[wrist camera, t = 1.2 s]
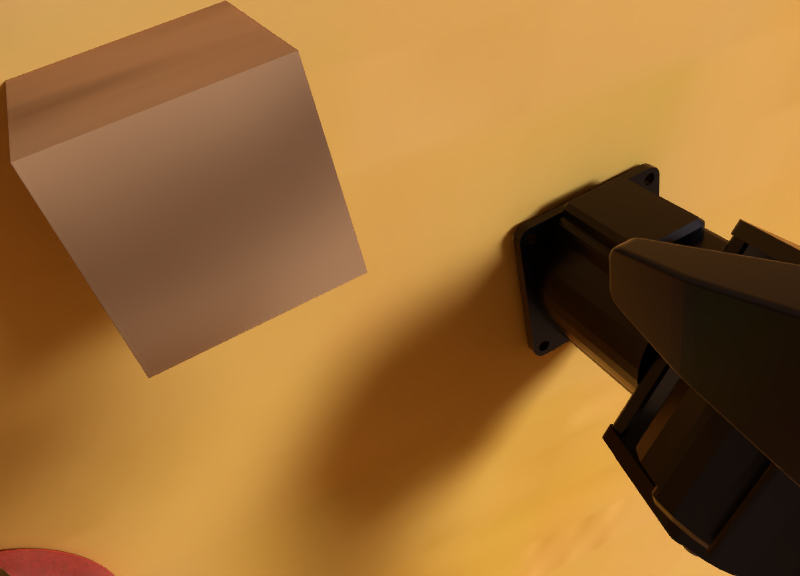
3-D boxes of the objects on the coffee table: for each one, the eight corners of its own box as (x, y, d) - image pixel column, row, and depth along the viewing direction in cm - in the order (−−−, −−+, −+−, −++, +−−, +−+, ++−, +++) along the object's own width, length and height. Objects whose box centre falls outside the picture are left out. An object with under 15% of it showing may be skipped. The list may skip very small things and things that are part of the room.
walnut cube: (292, 186, 21) (367, 272, 17) (115, 264, 20) (148, 378, 15) (225, -1, 17) (298, 50, 13) (5, 79, 16) (10, 162, 12)
